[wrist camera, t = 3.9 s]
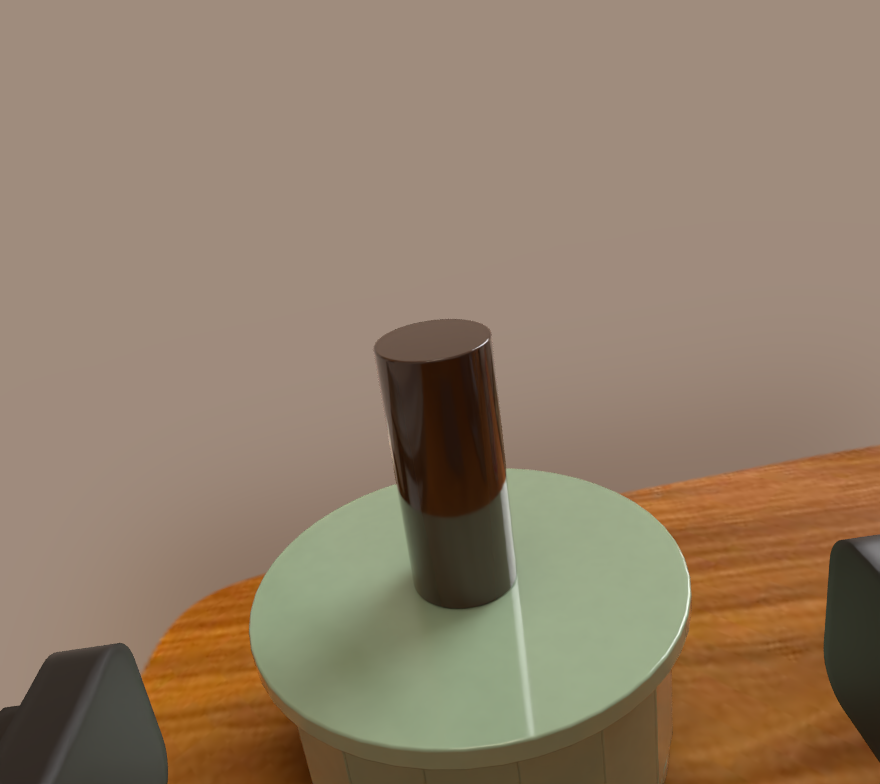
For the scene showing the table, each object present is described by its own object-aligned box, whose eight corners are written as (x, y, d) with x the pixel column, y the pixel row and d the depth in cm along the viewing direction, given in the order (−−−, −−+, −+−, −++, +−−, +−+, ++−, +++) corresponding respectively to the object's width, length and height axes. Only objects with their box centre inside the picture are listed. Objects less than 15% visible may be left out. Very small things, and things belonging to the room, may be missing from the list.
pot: (366, 978, 18) (325, 822, 16) (282, 678, 27) (249, 554, 25) (752, 798, 21) (757, 646, 19) (559, 580, 30) (549, 462, 28)
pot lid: (308, 881, 16) (208, 532, 13) (232, 566, 26) (165, 328, 23) (795, 674, 19) (815, 353, 16) (558, 465, 29) (540, 244, 26)
